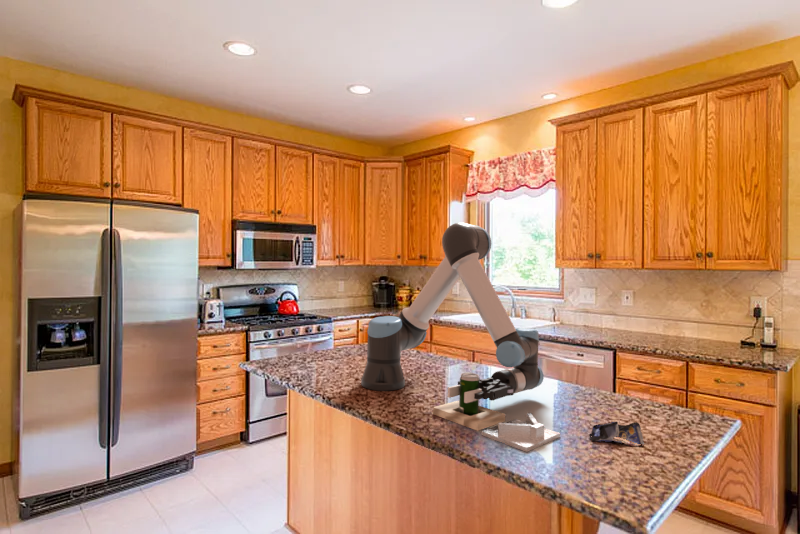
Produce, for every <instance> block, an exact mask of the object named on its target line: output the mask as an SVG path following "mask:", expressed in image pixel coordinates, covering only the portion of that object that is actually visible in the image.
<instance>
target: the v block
mask: <svg viewBox="0 0 800 534" xmlns="http://www.w3.org/2000/svg"><path fill="white" fill-rule="evenodd" d="M545 426H546V425H545V424H542V423H540V422H538V421H537V419H536V418H535V416H534V415H533V414H532V412H526V415H525V421H523V420H520V419H517V418H515V419H513V420H512V419H511V420H510V421H509V420H508V421H505V422H501V423H498V424H497V425H494V426H493V427H492V426H491V427H488V428H487V429H486V428H485V429H484V430H481V436H484V437H485V438H489V439H491V440H494V441H496V442H499V443H501V442H502V443H501V444H504V443H505V444H504V445H506V446H510V447H512V448H515V449H518V450H520V451H523V452H525V453H528V452H530V451H533V450H534V449H537V448H539V447H541V446H543V444H544V445H545V444H548V443H550V442H552V441H555V440H557V439H559V438H561V433H560V432H558V431H555V430H551V429H548V428H545Z"/></svg>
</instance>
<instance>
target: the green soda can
mask: <svg viewBox="0 0 800 534" xmlns="http://www.w3.org/2000/svg"><path fill="white" fill-rule="evenodd" d="M479 377H480V375H479V374H477V373H473V372H462V373H461V374H460V378H459V381H460V395H458V397H459V398H458V399H459V412H460V413H463V414H466V415H469V416H472V415H475V414H478V407H479V406H480V404H479V403H480V401H479V400H476V401H472V402H469V403H464V392H468V391H472V390H476V389H479Z"/></svg>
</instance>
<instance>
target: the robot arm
mask: <svg viewBox="0 0 800 534" xmlns="http://www.w3.org/2000/svg"><path fill="white" fill-rule="evenodd" d="M441 239H442V241H441V246H442V249H443V252H444V257H443V259H442V260H441V261H440V263H439V265H437V267H436V269H435V270H434V272H433V273H432V274H431V276H430V277H429V279H428V280H427V282H426V284H425V285H424V286H423V288H422V289H421V291H419V293H418V295H417V296H416V297H415V299H414V300H413V301H412V302H411V304H410V306H409V307H404V308H403V309H402V310H401V312H400V313H399V314H398V316H395V315H384V316H377V317H374V318H372V319H370V320H369V321H368V327H367V330H366V331H367V345H366V346H367V350H366V351H367V354H366V355H367V356H366V365H365V367H364V371H363V374H362V376H361V380H360V383H361V384H360V385H361V387H363V388H365V389H368V390H372V391H379V392H380V391H396V390H401V389H403V388H405V386H406V379H405V377H404V372H403V369H402V364H401V356H402V355H401V354H402V351H406V350H412V349H414V348H417V347H419V346H420V345H421V344H422V343H423V342H424V341H425V339H426V337H427V334H428V333H427V330H428V329H429V327H430V322H429V320H431V318H432V317H433V316H434V314H435V313H436V312H437V310H438V309H439V307H441V304H443V303H444V300H445V299H446V298H447V296H448V295H449V294H450V292H451V291H452V290H453V289H454V287H455V285H456V284H457V282H458V281H459V280H461V281H462V283H463V285H464V287H465V289H466V291H467V293H468V295H469V297H470V299H471V300H472V302H473V304H474V307H475V308H476V310H477V312H478V313H479V316H480V318H481V320H482V322H483V324H484V325H485V327H486V329H487V332H488V334H489V336H490V337H491V340H492V341H493V343H494V345H495V347H496V349H495V357H496V360H497V362H498V363H499V364H500V365H502V367H506V369H501V370H498V371H495V372H493V374H492V375H491V376H490V377H487V378H480V376H479V389H476V390H472V391H468V392H464V403H469V402H472V401H476V400H482V399H483V400H487V399H488V400H489V401H491V402H492V401H495V400H498V399H501V398H504V397H509V396H513V395H515V394H518V393H521V392H525V391H528V390H530V391H531V390H533V389H535V388H538V387H539V386H541V385H542V384H543V382H544V378H545V377H544V372H543V370H542V368H541V367H540V366H539V365H538V364H539V363H538V362H539V342H540V339H539V337H540V336H539V335H540V334H539V331H538V330H537V329H535V328H529V327H518V328H515V325H514V323H513V322H512V320H511V318H510V316H509V314H508V312H507V311H506V308H505V307H504V305H503V303H502V301H501V300H500V298H499V295H498V293H497V291H496V289H495V288H494V286H493V284H492V282H491V280H490V278H489V277H488V274H487V273H486V271H485V269H484V267H483V265H482V263H481V262H480V260H482V259H484V258H485V257H487V255H489V253H490V251H491V249H492V238H491V236H490V234H489V232H488V231H487V230H486V229H484V228H483V227H481V226H479V225H476V224H470V223H465V222H455V223H453V224H451V225H449V226H448V227H447V228H446V229H445V231H444V233H443V234H442V238H441ZM459 396H460V380H459V381H457V385H452V386H447V398H448V399H450V398H454V397H459Z"/></svg>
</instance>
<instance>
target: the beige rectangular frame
mask: <svg viewBox="0 0 800 534" xmlns="http://www.w3.org/2000/svg"><path fill="white" fill-rule="evenodd" d="M432 415H433V416H436V417H440V418H442V419H445V420H447V421H450V422H453V423H456V424H458V425H460V426H464V427H466V428H469V429H472V430H474V431H477V432H478V431H482V430H483V429H484V430H485V429H486V428H487V429H488V428H491V427H492V426H493V427H494V426H497V425H498V423H505V422H506V413H503V412H501V411H497V410H494V409H491V408H488V407H486V406H481V405H479V407H478V414H475V415H472V416H469V415H466V414H463V413H460V412H459V400H455V401H452V402H451V401H450V402H448V403H444V404H440V405H436V406H433V409H432Z"/></svg>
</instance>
